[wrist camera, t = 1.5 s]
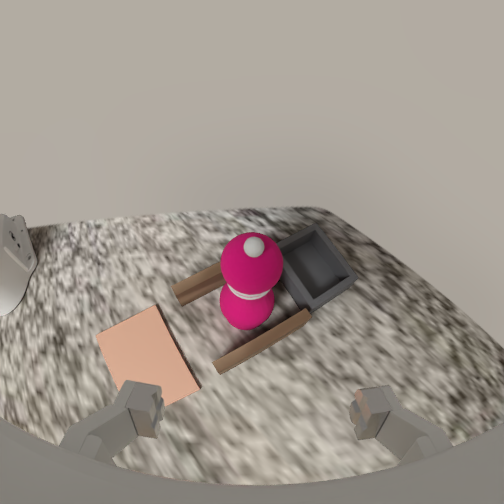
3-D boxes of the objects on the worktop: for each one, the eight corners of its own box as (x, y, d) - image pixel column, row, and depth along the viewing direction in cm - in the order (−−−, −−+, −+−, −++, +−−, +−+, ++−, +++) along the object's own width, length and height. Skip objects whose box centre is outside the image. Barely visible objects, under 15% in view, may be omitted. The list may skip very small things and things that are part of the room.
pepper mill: (236, 342, 39) (237, 298, 22) (212, 300, 42) (196, 227, 24) (279, 318, 41) (314, 257, 24) (254, 278, 44) (268, 195, 26)
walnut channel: (177, 298, 42) (171, 286, 37) (257, 257, 46) (259, 241, 41) (220, 374, 37) (218, 372, 32) (303, 325, 41) (312, 317, 36)
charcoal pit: (266, 259, 46) (268, 247, 42) (310, 235, 48) (316, 222, 45) (305, 316, 41) (312, 309, 38) (349, 287, 44) (358, 277, 40)
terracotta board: (96, 336, 38) (95, 335, 37) (156, 305, 41) (155, 304, 40) (134, 419, 33) (133, 420, 32) (200, 389, 36) (199, 389, 35)
